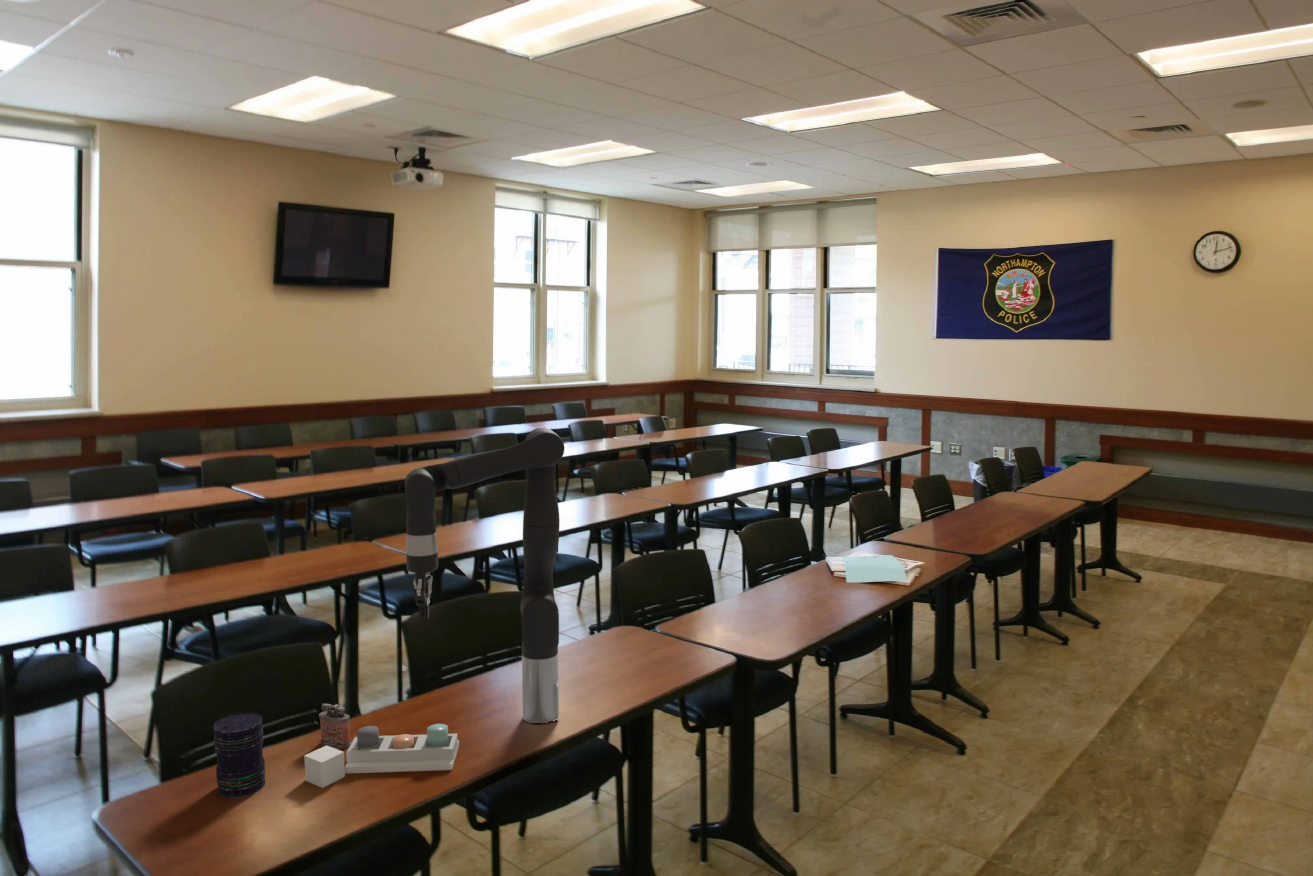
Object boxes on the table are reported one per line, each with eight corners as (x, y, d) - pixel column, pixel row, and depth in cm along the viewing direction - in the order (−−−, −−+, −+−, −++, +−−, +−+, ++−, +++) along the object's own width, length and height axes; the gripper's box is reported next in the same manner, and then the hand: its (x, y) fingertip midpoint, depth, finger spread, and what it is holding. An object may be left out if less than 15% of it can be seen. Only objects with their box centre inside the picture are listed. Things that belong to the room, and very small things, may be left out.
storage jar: (249, 771, 211) (246, 709, 209) (275, 783, 205) (271, 719, 204) (207, 789, 203) (203, 724, 201) (233, 803, 197) (229, 736, 195)
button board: (459, 746, 224) (458, 729, 223) (451, 770, 212) (451, 753, 211) (357, 749, 222) (357, 733, 221) (344, 773, 210) (344, 756, 210)
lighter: (353, 744, 225) (352, 704, 224) (345, 750, 222) (343, 710, 220) (326, 739, 227) (324, 700, 226) (317, 745, 224) (315, 705, 223)
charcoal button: (381, 737, 218) (380, 725, 218) (376, 747, 214) (376, 734, 213) (360, 738, 218) (359, 726, 218) (355, 747, 213) (354, 735, 213)
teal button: (449, 735, 220) (449, 723, 219) (446, 744, 215) (446, 732, 214) (429, 736, 219) (428, 724, 219) (425, 745, 214) (425, 733, 214)
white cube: (322, 788, 204) (321, 762, 203) (305, 781, 207) (304, 755, 206) (345, 777, 209) (343, 751, 208) (327, 770, 212) (326, 745, 211)
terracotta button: (415, 746, 219) (415, 733, 219) (412, 755, 214) (411, 743, 214) (395, 746, 219) (394, 734, 218) (390, 756, 214) (390, 743, 214)
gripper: (433, 557, 220) (435, 627, 222) (441, 544, 233) (443, 610, 235) (401, 558, 219) (403, 628, 221) (411, 544, 232) (413, 611, 235)
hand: (424, 619), depth 228 cm, fingers closed
